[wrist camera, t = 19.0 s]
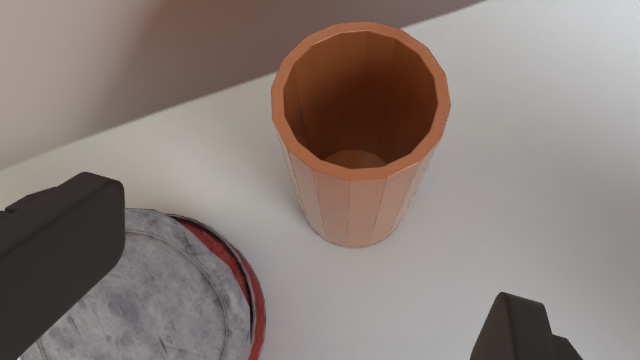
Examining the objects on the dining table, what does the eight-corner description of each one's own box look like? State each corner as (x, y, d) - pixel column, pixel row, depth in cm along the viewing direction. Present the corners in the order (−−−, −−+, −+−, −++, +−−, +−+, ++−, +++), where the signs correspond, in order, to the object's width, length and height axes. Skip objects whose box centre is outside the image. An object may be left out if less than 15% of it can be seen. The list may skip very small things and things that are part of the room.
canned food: (281, 310, 28) (348, 371, 19) (135, 439, 25) (128, 586, 16) (160, 155, 26) (167, 137, 17) (-15, 277, 23) (-125, 337, 14)
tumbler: (399, 144, 26) (436, 14, 16) (412, 244, 24) (462, 173, 14) (298, 151, 26) (268, 28, 16) (303, 252, 25) (274, 186, 14)
